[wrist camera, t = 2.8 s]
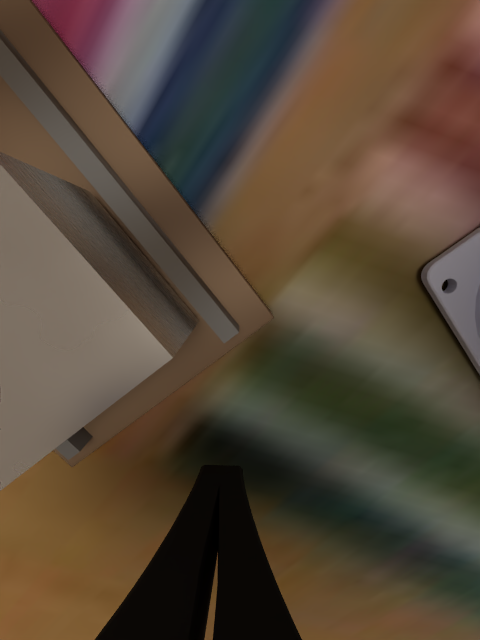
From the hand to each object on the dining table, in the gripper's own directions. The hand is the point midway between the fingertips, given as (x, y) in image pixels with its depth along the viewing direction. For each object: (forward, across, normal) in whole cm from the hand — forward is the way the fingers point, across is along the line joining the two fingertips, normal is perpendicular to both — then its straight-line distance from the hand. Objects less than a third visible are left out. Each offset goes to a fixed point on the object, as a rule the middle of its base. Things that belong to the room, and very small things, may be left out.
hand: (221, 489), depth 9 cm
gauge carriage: (+1, +6, -5) cm, 8 cm away
